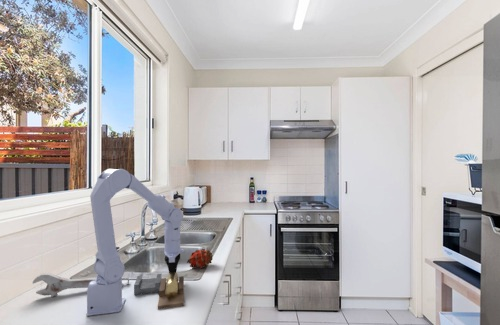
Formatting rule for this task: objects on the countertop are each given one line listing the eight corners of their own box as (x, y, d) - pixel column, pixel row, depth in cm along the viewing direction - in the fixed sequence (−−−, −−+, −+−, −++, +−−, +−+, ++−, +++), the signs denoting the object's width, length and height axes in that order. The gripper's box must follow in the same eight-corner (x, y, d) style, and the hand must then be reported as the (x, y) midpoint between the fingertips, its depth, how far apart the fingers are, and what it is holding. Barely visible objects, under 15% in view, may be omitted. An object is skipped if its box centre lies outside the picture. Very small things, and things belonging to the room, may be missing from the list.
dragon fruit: (215, 268, 122) (189, 278, 116) (208, 253, 127) (183, 261, 122) (217, 257, 117) (190, 266, 111) (210, 241, 122) (183, 250, 117)
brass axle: (177, 297, 91) (177, 285, 91) (165, 299, 90) (165, 286, 90) (178, 282, 102) (178, 271, 102) (167, 283, 101) (167, 272, 101)
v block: (134, 295, 94) (134, 285, 94) (137, 285, 102) (137, 275, 102) (159, 292, 96) (159, 282, 96) (161, 282, 104) (161, 273, 104)
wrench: (127, 293, 102) (30, 299, 91) (127, 291, 104) (32, 297, 93) (130, 271, 103) (33, 275, 91) (130, 269, 104) (35, 273, 93)
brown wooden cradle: (157, 309, 85) (157, 299, 85) (161, 286, 101) (161, 278, 101) (183, 305, 87) (183, 296, 87) (183, 284, 103) (183, 276, 103)
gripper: (183, 243, 97) (183, 281, 97) (183, 233, 111) (183, 266, 111) (162, 245, 95) (162, 284, 95) (165, 234, 109) (165, 268, 109)
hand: (172, 274), depth 103 cm, fingers closed
